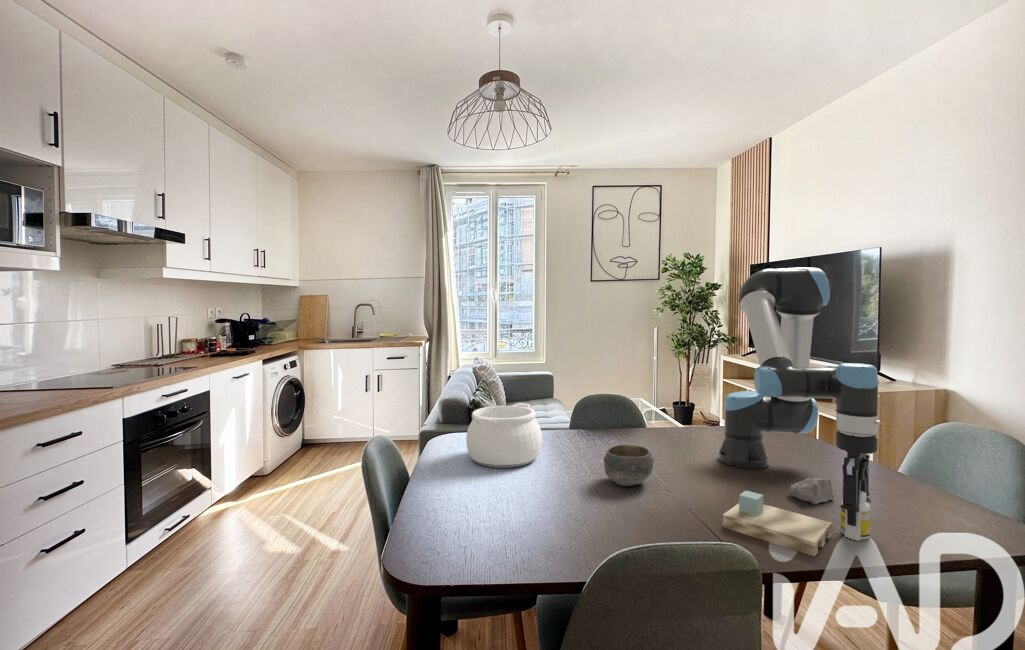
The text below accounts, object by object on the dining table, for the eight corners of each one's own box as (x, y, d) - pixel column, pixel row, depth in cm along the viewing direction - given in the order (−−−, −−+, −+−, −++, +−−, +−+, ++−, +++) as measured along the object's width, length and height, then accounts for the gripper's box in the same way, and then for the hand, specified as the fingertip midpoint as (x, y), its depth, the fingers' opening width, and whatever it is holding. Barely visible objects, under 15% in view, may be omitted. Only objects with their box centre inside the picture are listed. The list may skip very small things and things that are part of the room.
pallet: (722, 527, 113) (722, 514, 113) (744, 510, 121) (744, 499, 121) (814, 556, 99) (814, 542, 99) (831, 535, 108) (831, 522, 108)
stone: (816, 492, 133) (816, 471, 133) (840, 503, 125) (840, 481, 125) (784, 494, 132) (784, 474, 131) (807, 506, 124) (807, 484, 123)
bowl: (656, 478, 145) (656, 445, 145) (648, 496, 132) (648, 460, 131) (611, 472, 151) (611, 441, 151) (598, 489, 137) (598, 454, 137)
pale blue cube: (739, 511, 114) (739, 494, 114) (745, 506, 117) (745, 490, 117) (756, 516, 111) (756, 499, 111) (763, 511, 114) (763, 494, 114)
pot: (515, 478, 147) (514, 423, 147) (448, 464, 161) (447, 414, 161) (556, 453, 172) (556, 406, 172) (496, 443, 186) (495, 399, 185)
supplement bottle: (834, 529, 111) (835, 488, 110) (856, 528, 111) (857, 487, 111) (853, 540, 105) (853, 497, 105) (876, 539, 106) (876, 496, 105)
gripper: (867, 443, 98) (867, 554, 99) (885, 427, 111) (884, 526, 112) (825, 437, 104) (825, 542, 104) (846, 422, 116) (846, 516, 117)
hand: (856, 533), depth 108 cm, fingers open, 6 cm apart
